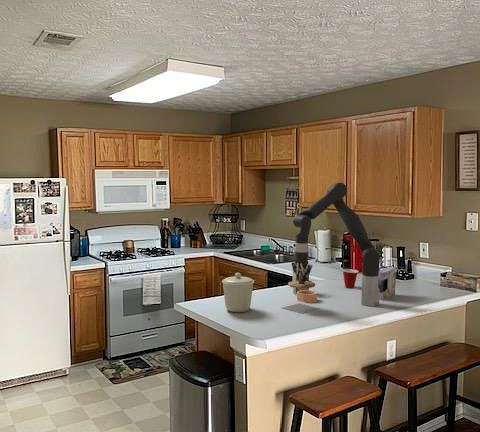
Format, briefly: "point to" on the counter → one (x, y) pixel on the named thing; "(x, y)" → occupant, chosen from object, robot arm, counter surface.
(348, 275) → the plastic cup
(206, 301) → the counter surface
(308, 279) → the coffee box
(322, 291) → the counter surface
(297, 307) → the rubber mat
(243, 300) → the canister
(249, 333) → the counter surface
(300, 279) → the walnut lid
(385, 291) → the cake pan box
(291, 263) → the robot arm
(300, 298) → the terracotta bowl
